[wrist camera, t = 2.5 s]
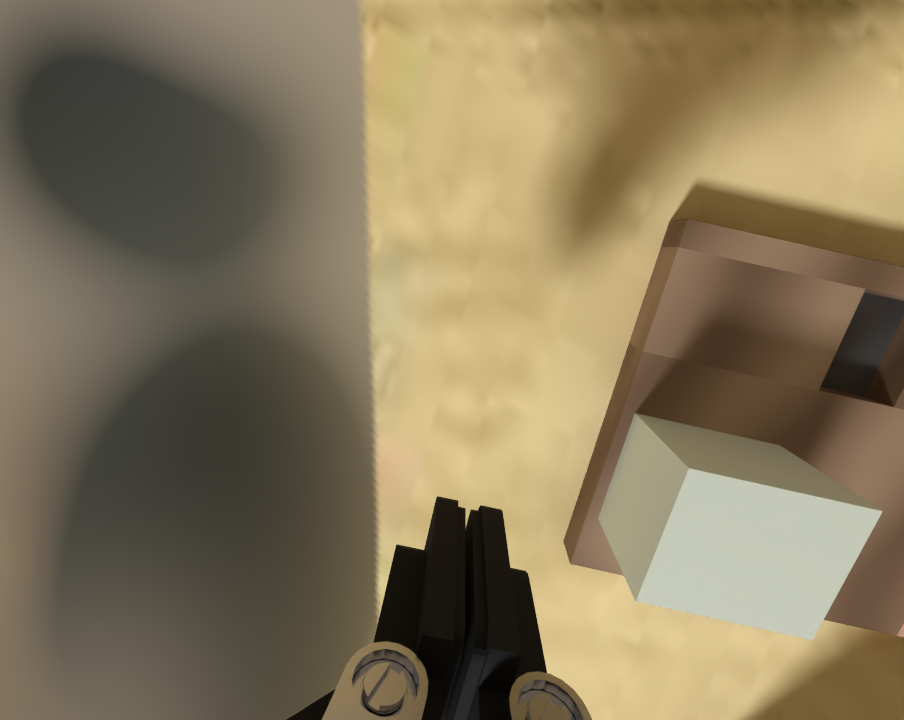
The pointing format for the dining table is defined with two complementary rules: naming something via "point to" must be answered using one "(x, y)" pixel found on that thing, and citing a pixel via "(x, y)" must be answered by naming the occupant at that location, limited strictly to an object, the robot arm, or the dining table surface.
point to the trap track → (771, 383)
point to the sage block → (731, 527)
